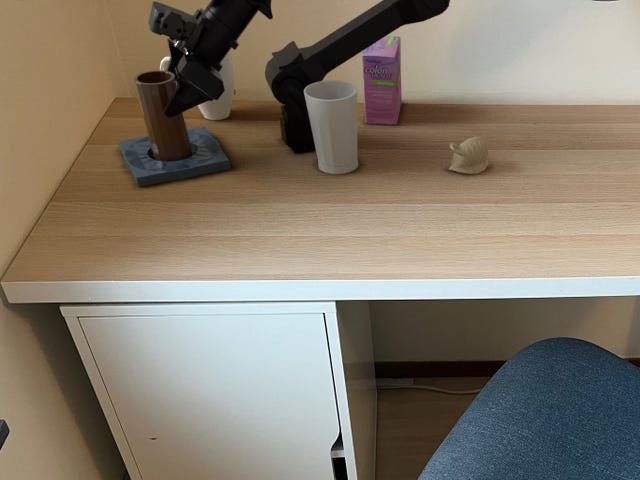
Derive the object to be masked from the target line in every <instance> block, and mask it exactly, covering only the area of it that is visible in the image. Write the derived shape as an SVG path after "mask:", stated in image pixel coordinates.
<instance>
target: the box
mask: <svg viewBox="0 0 640 480" xmlns="http://www.w3.org/2000/svg"><path fill="white" fill-rule="evenodd" d="M401 41H402V40H401V36H395V35H387V36H385V37H384V38H382V39H381V40H379V41H377V42H376V43H374V44H373V45H371V46H370V47H368V48H366V49H365V50H363V51H362V55H361V63H362V81H363V83H362V84H363V101H364V120H365V121H364V123H365V124H366V125H367V124H368V125H382V126H383V125H386V126H397V124H398V120H399V115H400V111H401V107H402V102H403V101H402V100H403V99H402V53H401V52H402V51H401V50H402V43H401Z"/></svg>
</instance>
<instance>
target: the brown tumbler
mask: <svg viewBox="0 0 640 480" xmlns="http://www.w3.org/2000/svg"><path fill="white" fill-rule="evenodd" d="M133 84H134V87H135V90H136V94H137V98H138V103H139V106H140V110H141V114H142V117H143V121H144V125H145V129H146V133H147V137H149V141H150V144H151V148H152V152H153V158H154V160H157V161H164V162H172V161H179V160H183V159H186V158H189V157H191V156H193V155H194V154H193V151H192V148H191V144H190V139H189V135H188V130H189V129H188V126H187V121H186V117H185V112H182V113H180V114H178V115H176V116H174V117H172V118H169V117H167V116H166V115H164V111H165V109H166V106H167V104H168V102H169V100H170V98H171V96H172V94H173V92H174V90H175V88H176V86H177V81H176V77H175V75H174V74H173V73H172V72H169V71H166V70H164V71H163V70H160V69H156V70H155V69H154V70H148V71H143V72H140V73H138V74H136V75H135V76H134V77H133Z"/></svg>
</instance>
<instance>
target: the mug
mask: <svg viewBox="0 0 640 480" xmlns="http://www.w3.org/2000/svg"><path fill="white" fill-rule="evenodd" d="M169 59H170V56H165V57H163V58H162V60H161V61H160V65H159V70H163V71H165V64H166V63H167V62H169ZM221 64H222V66H223V67H222V69H221V70H220V71H219V73H220V75H221V78H222V80H223V84H224V89H225V91H224V92H223V94H222V95H221V96H220V98H219V99H218V100H215V99H214V100H213V101H207V102H205V103H202V104H200V105H197V106H196V107H198V109H199V111H200V112H201V113H202V116H203V117H204V118H205V119H207V120H209V121H221V120H224V119H227V118H228V117H229V116H230V113H231V108H232V103H233V98H234V97H233V96H234V92H235V83H236V82H235V72H234V66H233V61H232V54H231V50H230V51H229V52H228V53H227V55H226V56H225V57H224V59H223V60H222V61H221ZM213 69H214V68H213ZM217 72H218V71H217Z"/></svg>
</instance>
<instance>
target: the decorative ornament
mask: <svg viewBox="0 0 640 480" xmlns="http://www.w3.org/2000/svg"><path fill="white" fill-rule="evenodd" d="M449 148H450V150H451V151H453V156H452V160H451V164H450V166H448V169H447V170H448V171H454V172H456V173H461V174H468V175H478V174H480V173H483V172H485V170H486V169H487V167H488V166H489V162H490V160H489V145H488V143H487V142H486V141H485V139H484V138H483V137H481V136H473V137H470V138H467V139H466V140H464V141H462V142H461V143H460V144H456V143H453V142H451V143H450V144H449Z"/></svg>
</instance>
